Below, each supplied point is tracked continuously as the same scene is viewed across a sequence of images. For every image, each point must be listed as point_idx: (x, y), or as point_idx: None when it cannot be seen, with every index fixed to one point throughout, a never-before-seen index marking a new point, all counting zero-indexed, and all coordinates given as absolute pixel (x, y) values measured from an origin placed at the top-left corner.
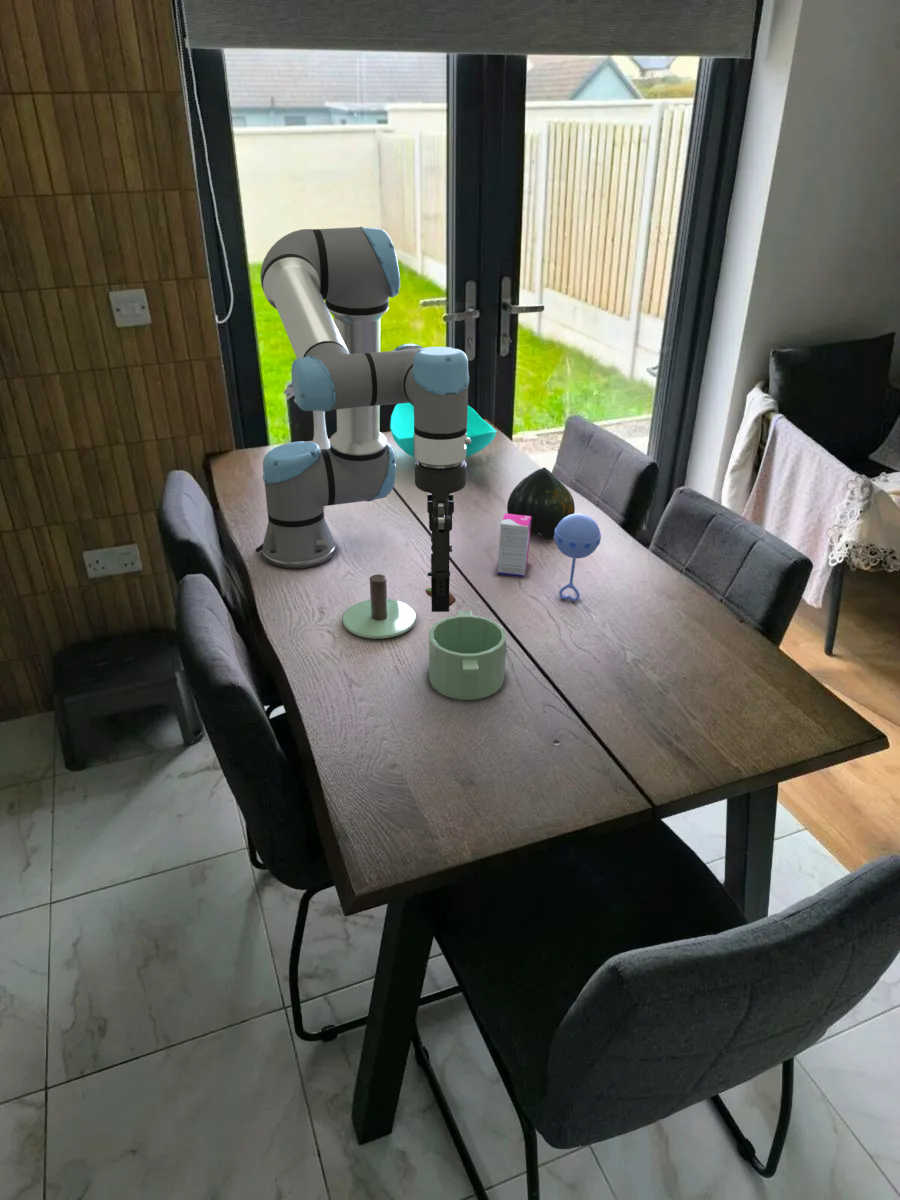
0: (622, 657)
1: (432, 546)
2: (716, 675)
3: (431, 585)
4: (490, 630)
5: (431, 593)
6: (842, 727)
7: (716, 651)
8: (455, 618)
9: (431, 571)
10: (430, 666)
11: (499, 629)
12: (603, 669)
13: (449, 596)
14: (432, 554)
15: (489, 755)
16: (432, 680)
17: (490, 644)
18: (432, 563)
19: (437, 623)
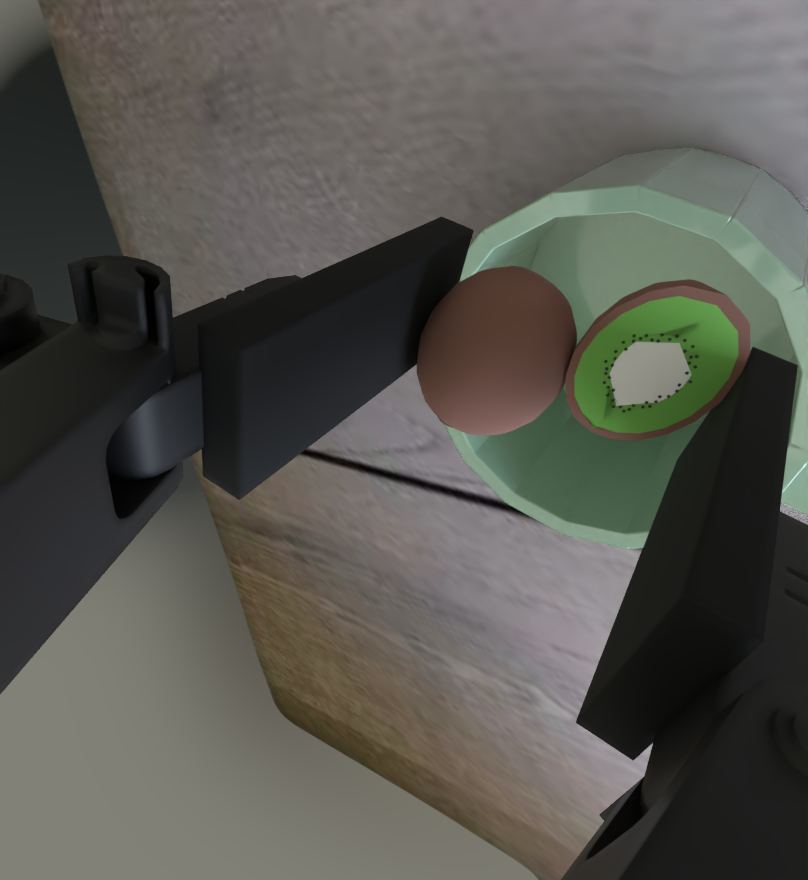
0: (551, 692)
1: (695, 763)
2: (434, 732)
3: (744, 376)
4: (656, 506)
5: (607, 311)
6: (296, 712)
7: (500, 795)
8: (792, 424)
9: (168, 339)
10: (660, 160)
11: (576, 523)
12: (523, 631)
13: (426, 395)
14: (721, 636)
15: (290, 205)
16: (650, 153)
17: (669, 470)
18: (692, 526)
19: (796, 304)
